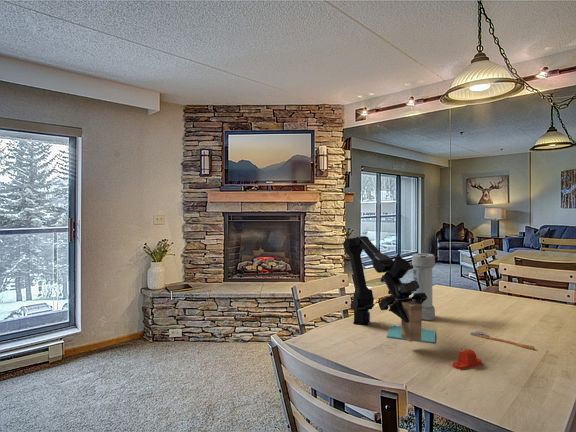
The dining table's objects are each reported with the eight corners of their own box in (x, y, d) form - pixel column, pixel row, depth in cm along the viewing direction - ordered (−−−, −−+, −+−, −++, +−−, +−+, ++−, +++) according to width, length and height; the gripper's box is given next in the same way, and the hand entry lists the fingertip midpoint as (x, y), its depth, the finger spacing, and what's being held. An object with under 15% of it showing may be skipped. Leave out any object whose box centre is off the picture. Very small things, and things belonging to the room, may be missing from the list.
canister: (411, 319, 167) (411, 255, 166) (412, 313, 176) (412, 253, 175) (434, 321, 163) (434, 256, 162) (434, 315, 172) (434, 253, 172)
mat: (386, 337, 144) (386, 335, 144) (390, 326, 157) (390, 325, 157) (434, 343, 137) (434, 341, 137) (434, 331, 150) (434, 330, 150)
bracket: (459, 371, 114) (459, 355, 114) (449, 366, 118) (449, 351, 118) (484, 364, 119) (484, 349, 119) (474, 360, 122) (474, 345, 122)
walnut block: (400, 336, 133) (401, 302, 132) (412, 335, 134) (412, 301, 134) (409, 341, 128) (410, 305, 128) (421, 340, 130) (422, 304, 129)
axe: (539, 346, 134) (539, 341, 134) (534, 351, 129) (534, 347, 129) (475, 332, 151) (475, 328, 150) (469, 336, 146) (469, 332, 146)
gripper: (383, 275, 131) (403, 313, 121) (424, 271, 138) (446, 307, 128) (371, 291, 139) (388, 328, 129) (410, 287, 145) (430, 322, 135)
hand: (413, 321), depth 130 cm, fingers closed on walnut block, 5 cm apart
